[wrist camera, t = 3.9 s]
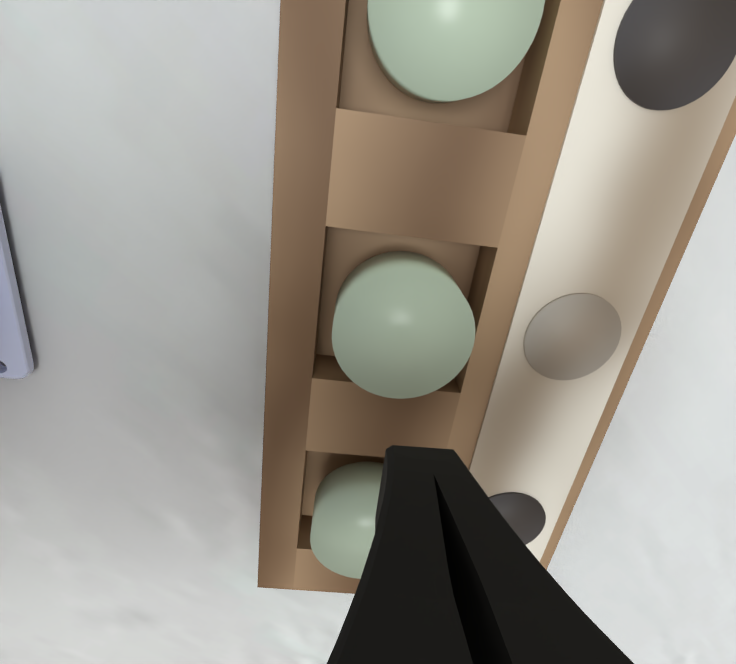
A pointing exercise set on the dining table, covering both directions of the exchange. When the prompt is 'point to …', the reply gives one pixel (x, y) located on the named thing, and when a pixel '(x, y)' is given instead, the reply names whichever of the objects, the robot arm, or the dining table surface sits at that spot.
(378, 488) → the button far
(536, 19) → the button near
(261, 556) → the board
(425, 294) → the button middle
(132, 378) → the dining table surface
